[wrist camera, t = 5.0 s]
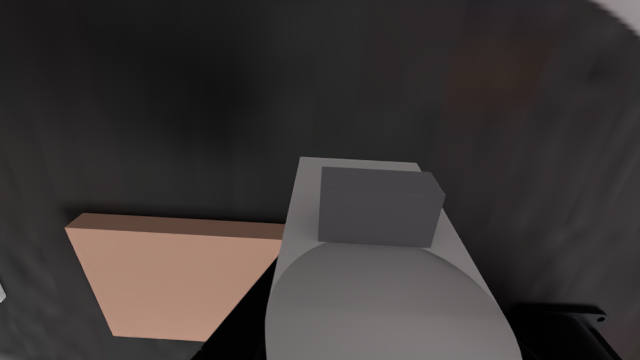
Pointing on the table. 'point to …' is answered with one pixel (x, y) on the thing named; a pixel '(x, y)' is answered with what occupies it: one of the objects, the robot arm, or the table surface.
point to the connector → (377, 272)
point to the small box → (2, 294)
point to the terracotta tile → (171, 270)
